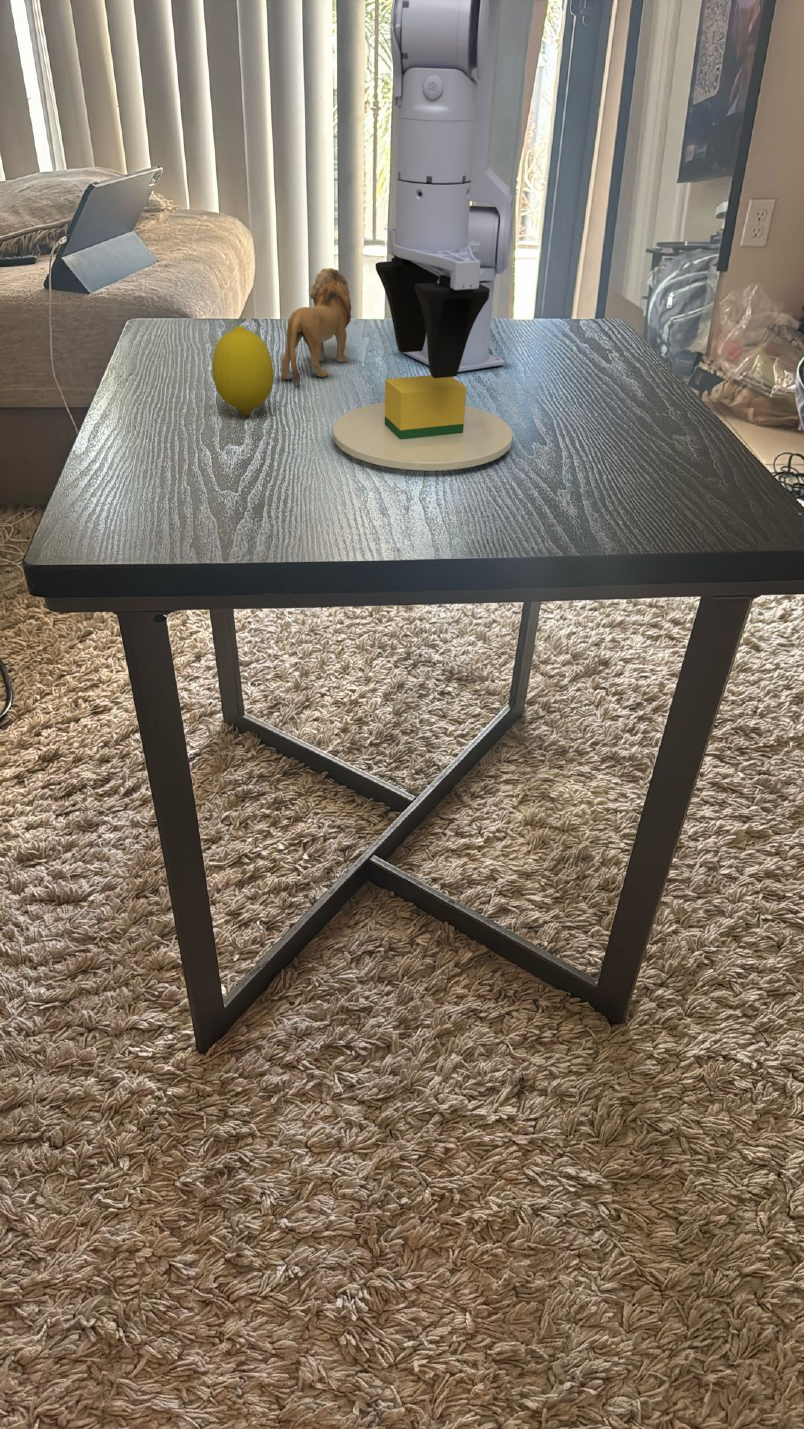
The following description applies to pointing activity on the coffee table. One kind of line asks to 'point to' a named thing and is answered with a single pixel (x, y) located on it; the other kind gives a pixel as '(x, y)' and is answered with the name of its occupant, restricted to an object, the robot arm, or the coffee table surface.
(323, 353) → the lion figurine
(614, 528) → the coffee table surface
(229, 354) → the lemon
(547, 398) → the coffee table surface
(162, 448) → the coffee table surface
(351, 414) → the plate
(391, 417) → the sponge
